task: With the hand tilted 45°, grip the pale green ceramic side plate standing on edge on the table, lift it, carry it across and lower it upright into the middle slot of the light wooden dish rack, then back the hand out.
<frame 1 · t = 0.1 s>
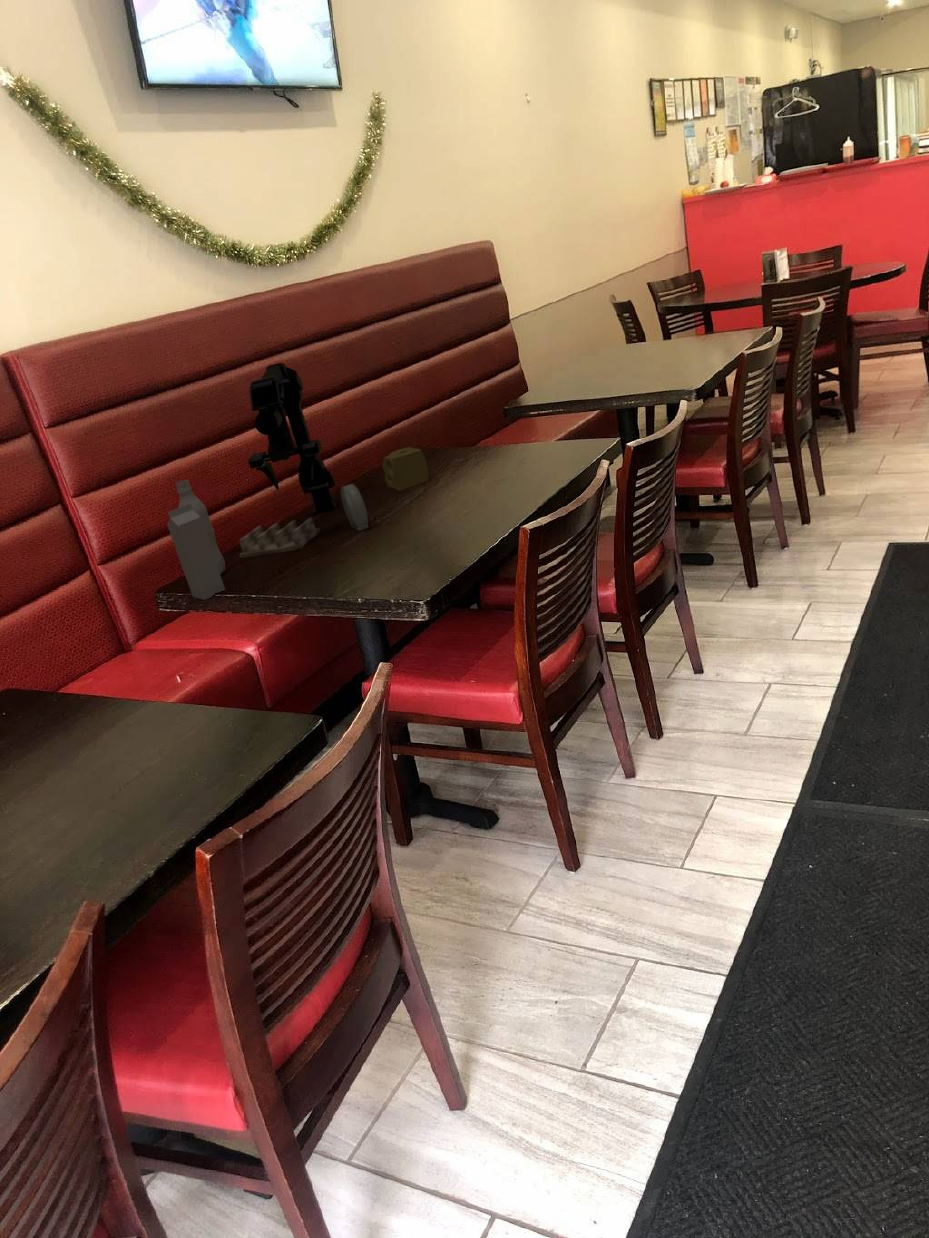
hand: (294, 485, 261), 15 cm above the table, tool pointing down, fingers open, 9 cm apart
milk: (209, 594, 239), on the table
cheese: (409, 484, 297), on the table
dish rack: (280, 544, 266), on the table
plate: (359, 527, 264), on the table
water bottle: (214, 575, 254), on the table
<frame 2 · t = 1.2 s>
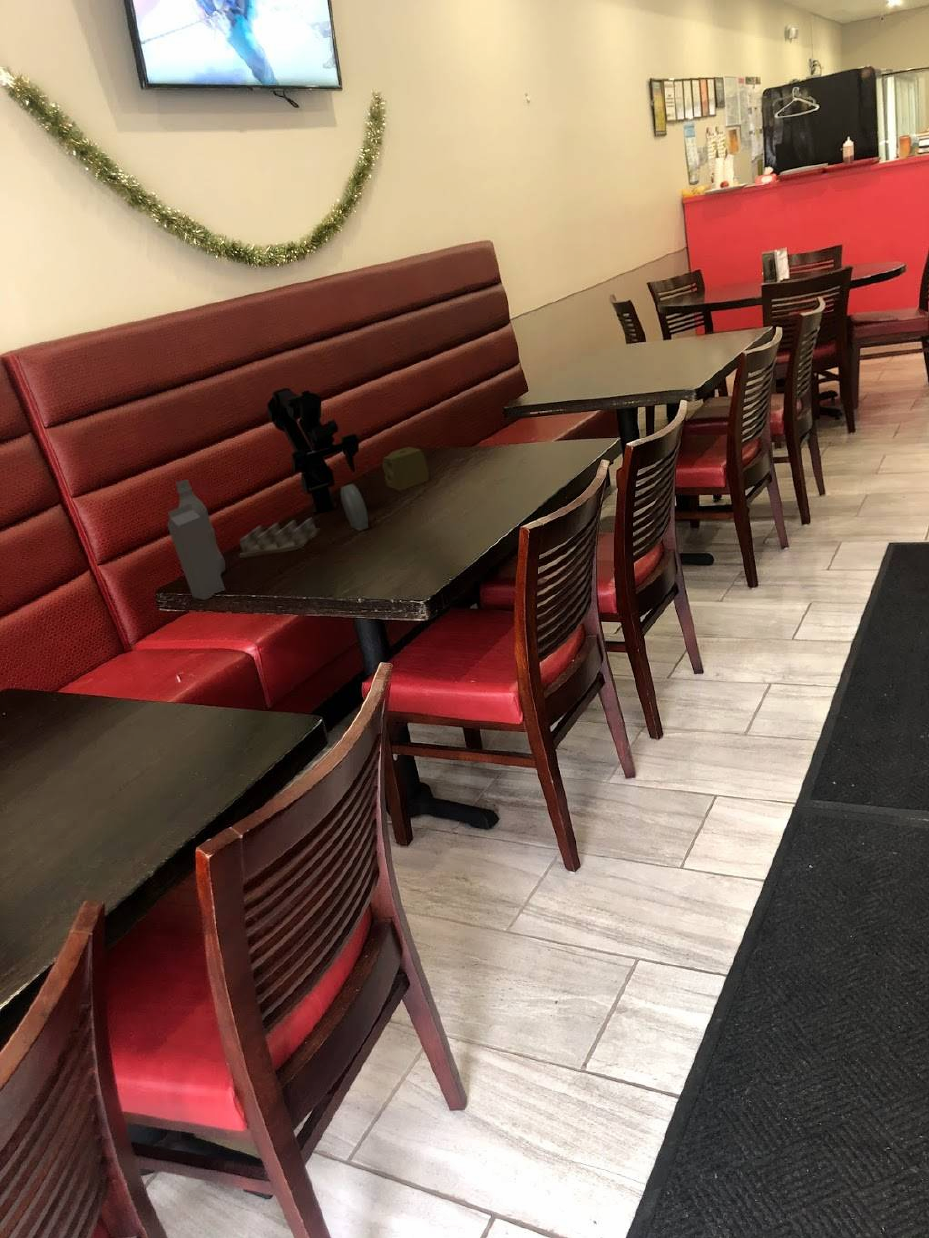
hand: (338, 476, 265), 13 cm above the table, tool tilted 45°, fingers open, 9 cm apart
nothing on the table moved.
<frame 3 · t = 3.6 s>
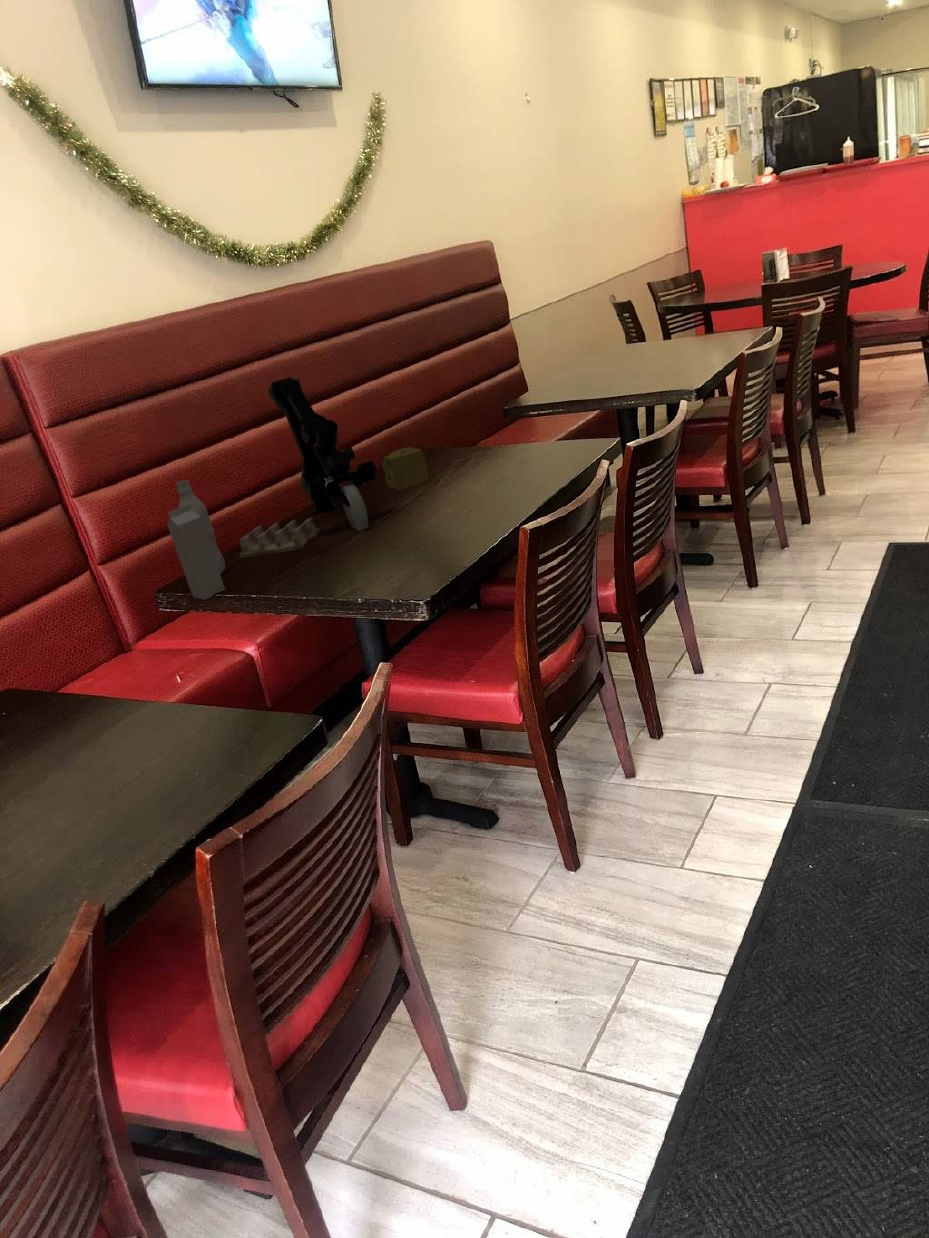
hand: (354, 504, 260), 7 cm above the table, tool tilted 45°, fingers closed on plate, 3 cm apart
plate: (359, 527, 264), on the table, touching gripper
everything else where it was.
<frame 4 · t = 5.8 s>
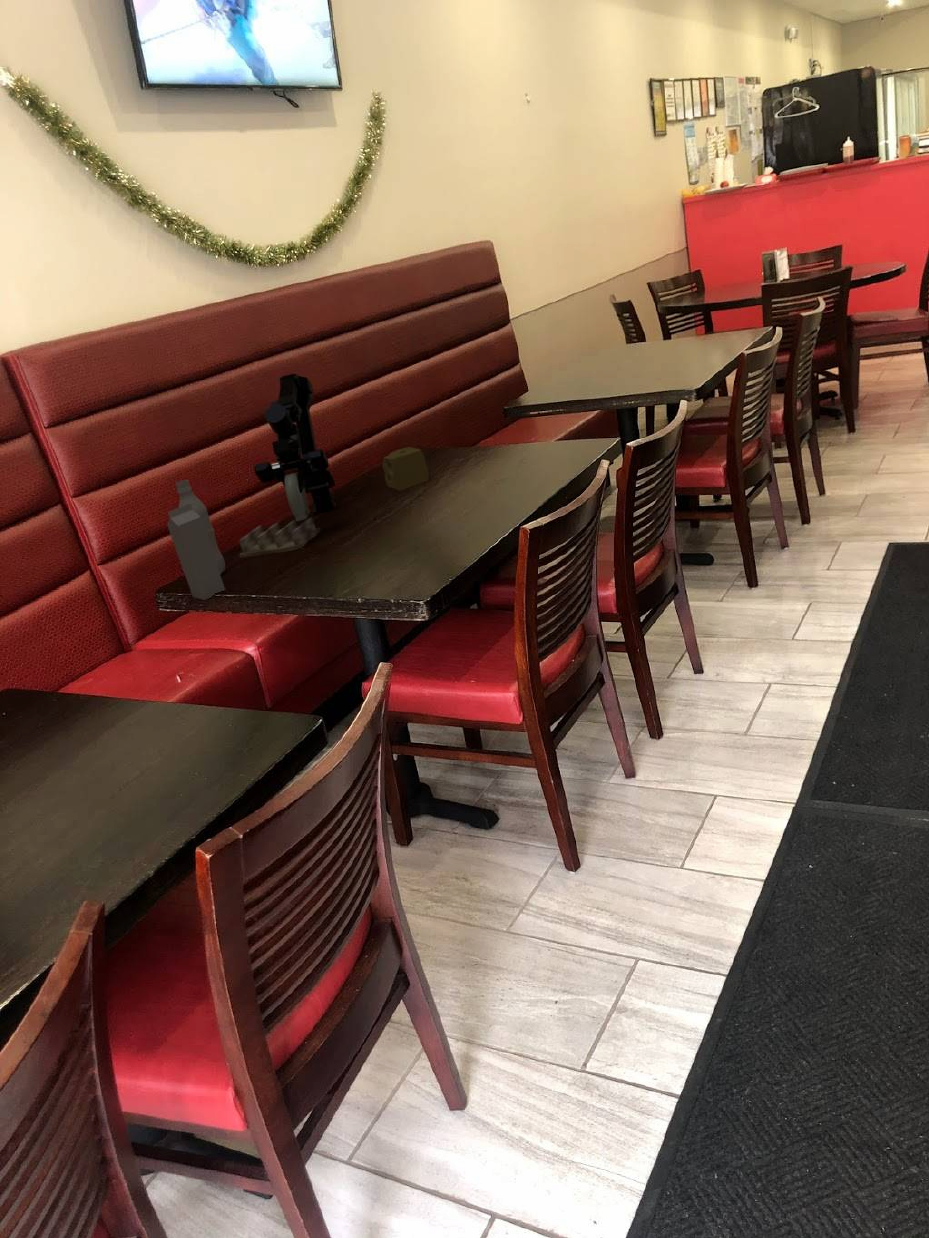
hand: (294, 493, 258), 13 cm above the table, tool tilted 45°, fingers closed on plate, 3 cm apart
plate: (303, 516, 261), point 7 cm above the table, touching gripper
everything else where it was.
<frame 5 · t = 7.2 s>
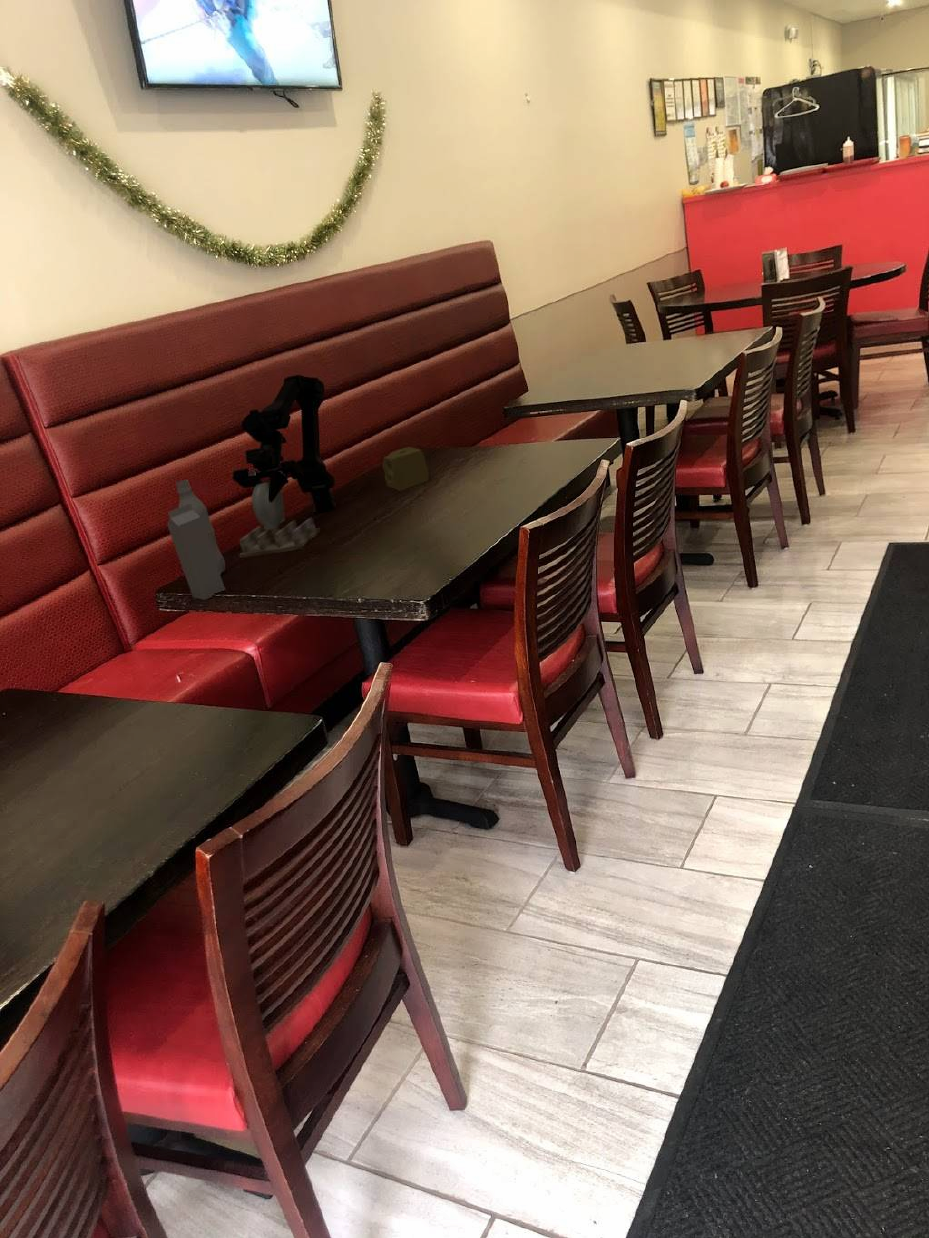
hand: (265, 502, 261), 12 cm above the table, tool tilted 45°, fingers closed on plate, 3 cm apart
plate: (275, 525, 264), point 6 cm above the table, touching gripper
everything else where it was.
when the fingers open (9 cm above the table, at t = 8.1 s): plate drops 1 cm, resting on dish rack.
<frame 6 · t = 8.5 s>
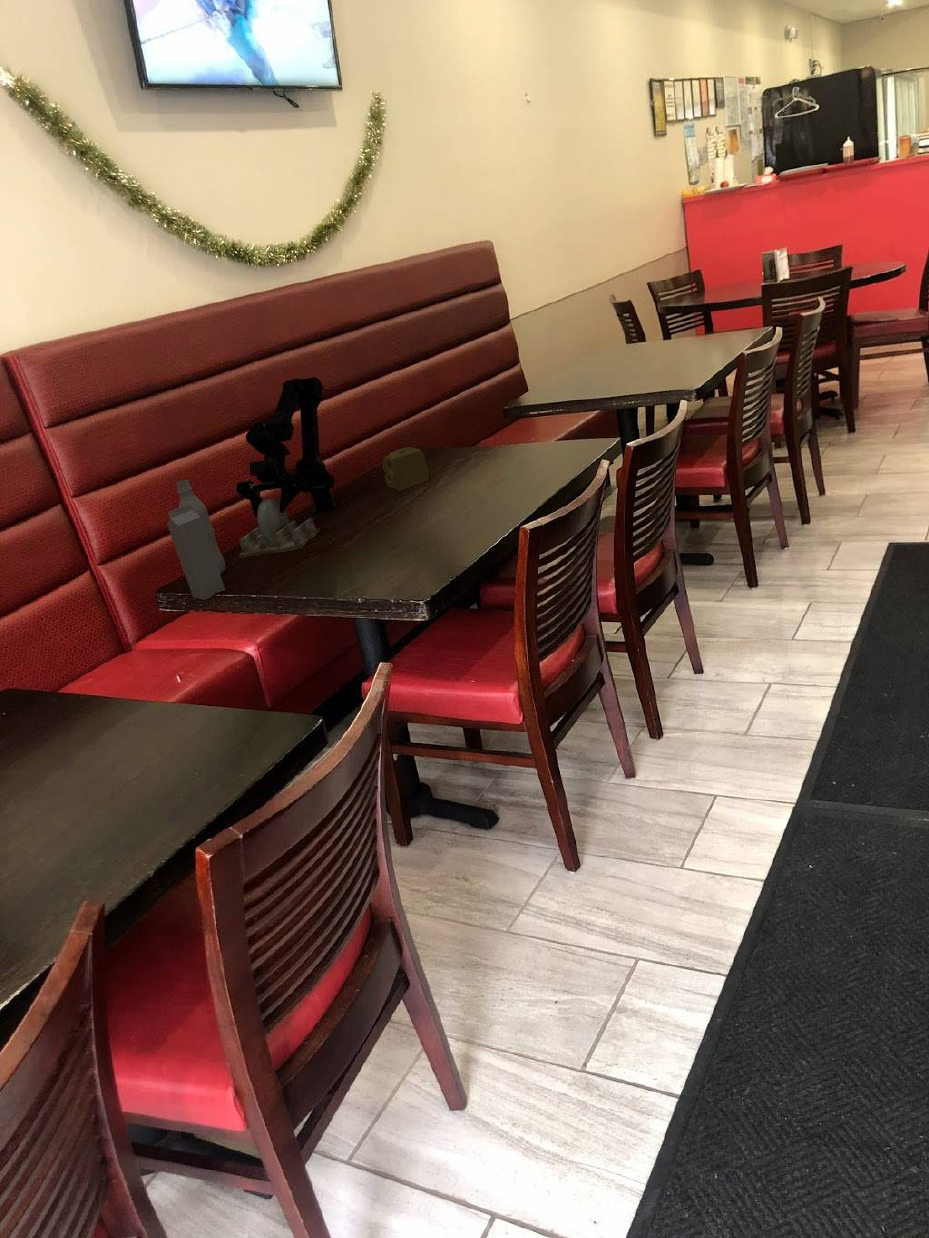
hand: (268, 514, 262), 9 cm above the table, tool tilted 45°, fingers open, 7 cm apart
plate: (279, 541, 266), point 1 cm above the table, touching dish rack
everything else where it was.
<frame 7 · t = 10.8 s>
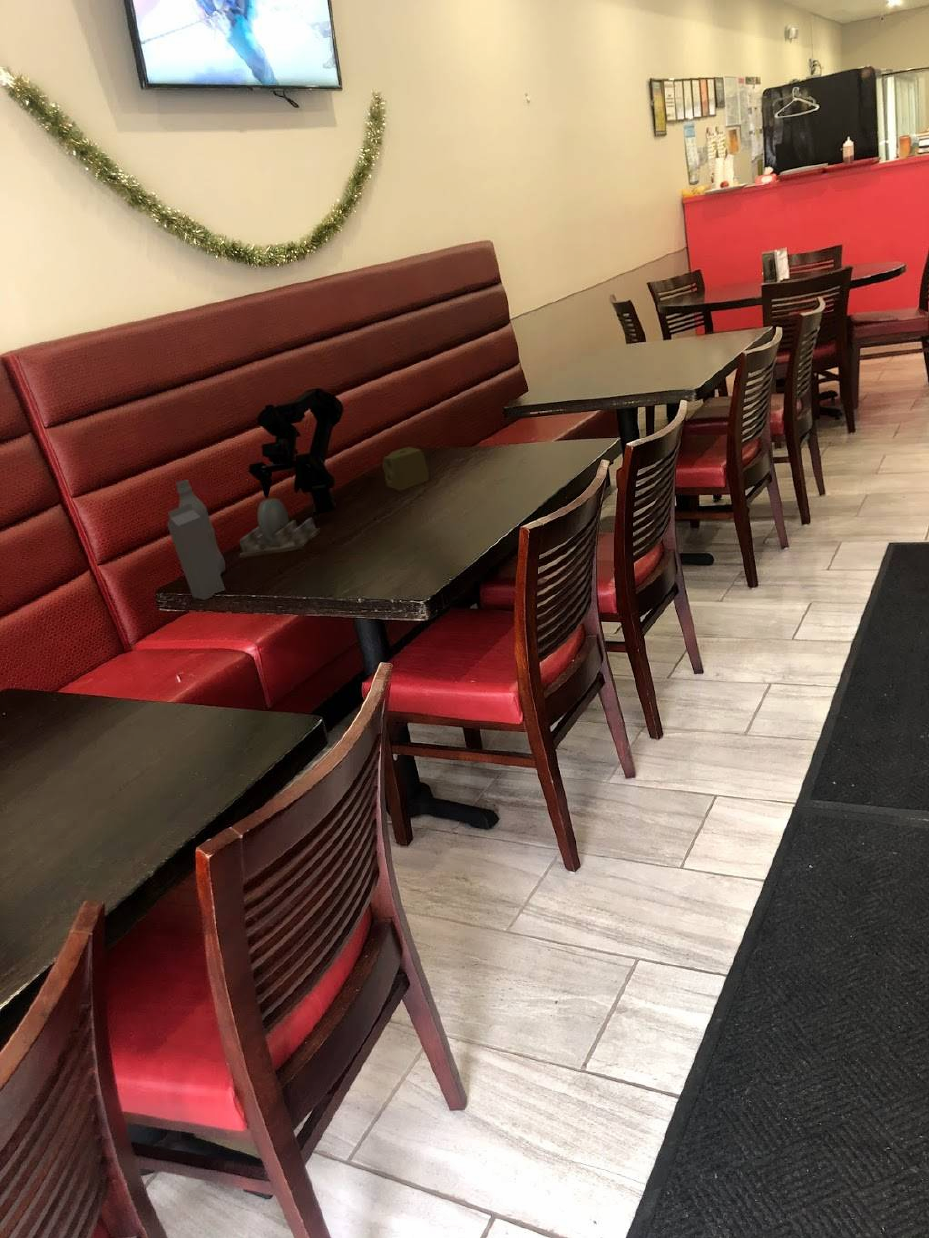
hand: (280, 494, 269), 12 cm above the table, tool tilted 45°, fingers open, 9 cm apart
nothing on the table moved.
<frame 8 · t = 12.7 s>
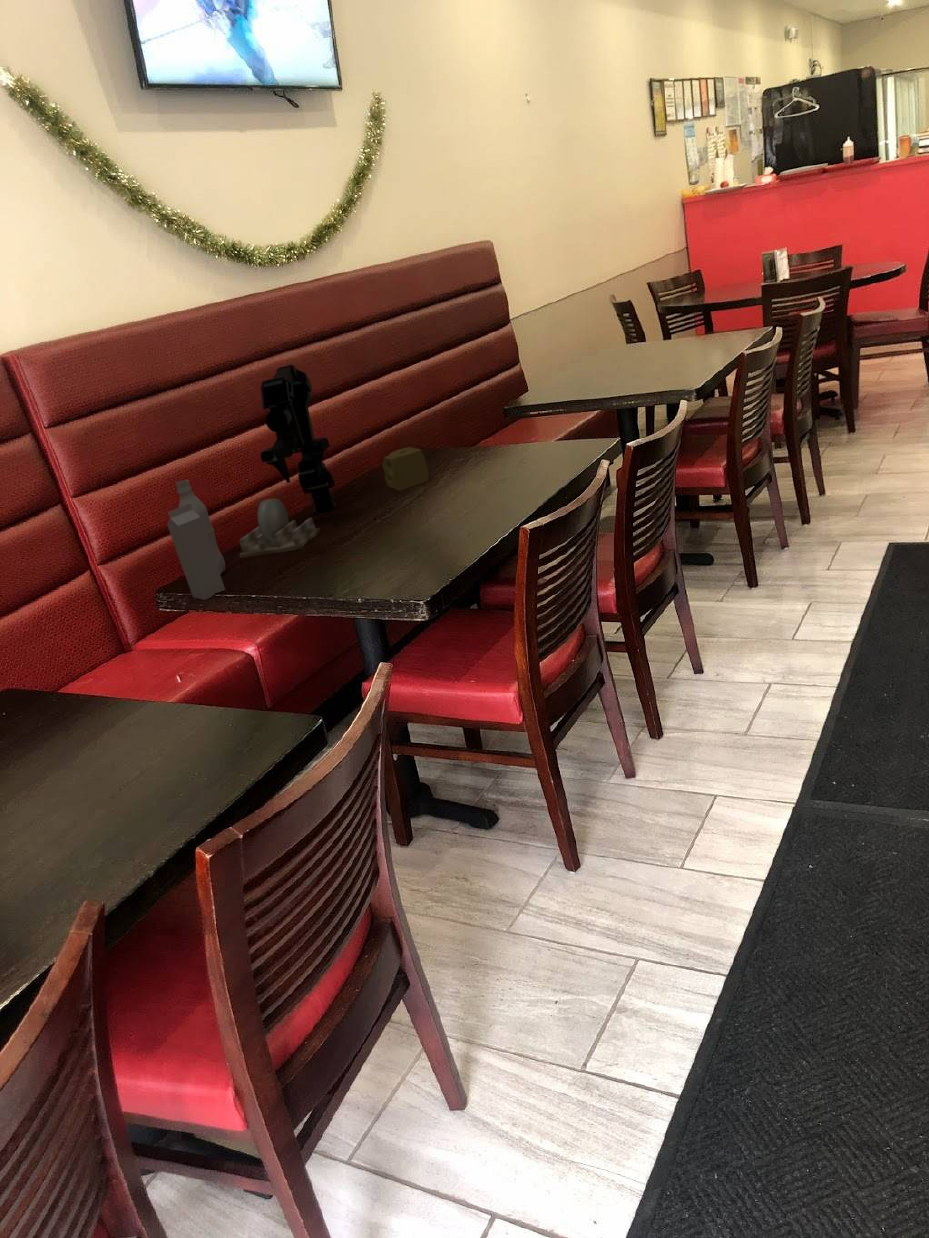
hand: (303, 480, 273), 13 cm above the table, tool pointing down, fingers open, 9 cm apart
nothing on the table moved.
at the end: plate 0.0 cm off-centre on the dish rack, point 1.0 cm above the dish rack's base; plate tilted 0°; the gripper is holding nothing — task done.
